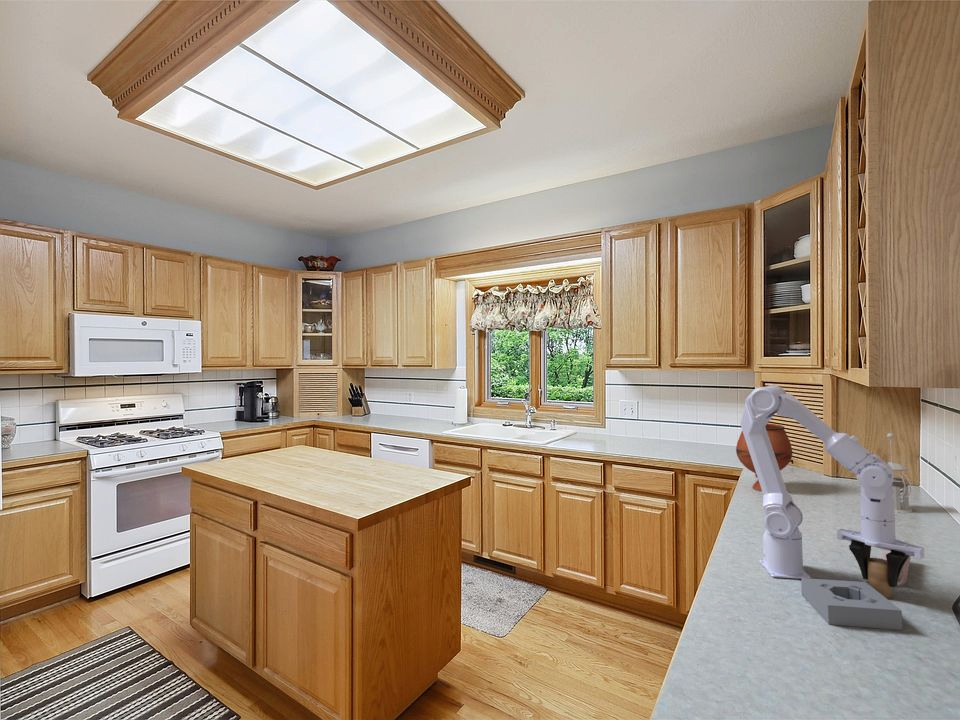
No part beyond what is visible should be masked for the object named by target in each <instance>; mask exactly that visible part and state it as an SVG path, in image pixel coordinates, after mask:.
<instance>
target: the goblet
mask: <svg viewBox="0 0 960 720" xmlns="http://www.w3.org/2000/svg"><path fill="white" fill-rule="evenodd" d="M765 428H766V430H767V433H768V436H769V439H770V442H771V445H772V448H773V451H774V454H775V457H776V460H777V463H778V466H779V469H780V471H782V470H783V469H785V468H786V467H787V466H788V465H789V464H790V462H791V460H792V458H793V448H792V443H791V441H790V438H789V437H788V434H787V432H786V429H785V426H784V425H780V424H777V423H769V422H768V423H767V424H766V426H765ZM735 451H736V452H735V453H736V456H737V458H738V460H739V462H740V463H741V464H742V465H743V466H744V467H745V468H747V469H748V471H751V472H752V473H754V474H755V475H754V476H755V477H756V478H757V480H756V481H755V483H753V485H752V487H751V488H752V490H753V489H754V490H756V491H758V492H759V491H760V492H762V489H761V486H760V483H759V480H758V477H757V474H756V471H755V468H754V465H753V462H752V459H751V455H750V452H749V449H748V446H747V443H746V440H745V437H744V434H743V431H742V430H741V432H740V435H739V437H738V440H737V443H736V448H735Z"/></svg>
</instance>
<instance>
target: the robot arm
mask: <svg viewBox="0 0 960 720" xmlns="http://www.w3.org/2000/svg"><path fill="white" fill-rule="evenodd" d="M744 401H745V402H744V403H745V405H744V408H743V412H742V415H741V419H740V427H741V432H742V431H743V434H744V437H745V440H746V443H747V446H748V449H749V452H750V455H751V459H752V462H753V465H754V468H755V471H756V473H755V475H756V474H757V477H758V478H757V477H756V478H757V480H759V483H760V486H761V489H762V491H761V492H762V495H763V498H762V499H763V500H762V507H763V511H764V517H763V525H764V527H765V531H764V532H763V535H762V551H763V552H762V553H763V554H762V555H763V556H762V557H763V559H759V560H758V561H759V563H760V564H761V566H763V567H764V569H765V570H766V571H767V572H768V574H770V575H771V577H773V578H783V579H784V578H785V579H801V578H808V579H812V577H811V576H810V574H808V573H807V572H806V571H805V570H804V562H803V561H804V560H803V559H804V558H803V557H804V556H803V553H804V552H803V533H801V531H800V528H799V526H800V525H802V522H803V520H804V516H803V513H802V511H801V509H800V508H799V507H798V506H797V505H796V503H795V502H794V499H793V496H792V495H791V494H790V493H789V491H788V490H787V488H786V485H785V482H784V478H783V476H782V473H781V472H782V471H781V470H780V469H779V466H778V463H777V460H776V457H775V454H774V451H773V448H772V445H771V442H770V439H769V436H768V433H767V430H766V428H765V426H766V424H767V423H769V422H770V421H771V419H772V417H773V416H775V414H776V415H777V416H781V417H786V418H791V419H793V420H795V422H798V424H800V425H801V426H803V427H804V428H805V429H807V430H808V431H809V432H810V433H812V434H813V435H814V436H815V437H817V438H818V439H819V440H820V441H822V442H823V443H824V451H825V452H826V453H827V454H828V455H830V456H831V457H832V458H834V459H835V460H836V461H837V462H838V463H839V465H842V466H843V467H844V468H845V469H846V470H848V471H849V472H850V473H852V474H854V475H856V480H857V482H858V484H859V485H860V493H859V510H860V511H859V513H860V531H857V530H849V529H846V528H845V529H844V528H839V529H836V537H837V538H836V539H837V540H841V541H843V540H845V541H850V544H849V545H848V549H849V550H850V551H851V553H852V556H854V558H855V561H856V563H857V564H858V566H859V570H860V572H861V576H862V579H863V580H867V581H868V573H867V558H871V550H872V547H873V548H878V549H882V550H885V551H886V550H889V551H891V552H889V553H888V554H886V558H887V563H888V569H889V587H892V589H893V588H895V587H898V586H897V583H898V578H899V575H900V572H901V570H902V567H903V565H904V564H905V562H906V560H907V559H908V558H909V556H911V557H913V558H914V559H917V560H922V559H924V558H925V548H924V547H923V546H918V545H914V544H913V543H908V542H906V541H903V540H900V539H897V538H896V516H895V515H896V513H895V509H894V498H893V496H892V495H893V489H892V483H893V478H895V473H894V472H895V471H893V469H892V468H891V466H890V465H889V464H888V463H887V461H886V460H884V459H881V458H880V456H879V455H878V454H877V453H874V454H873V453H872V452H870V450H868V449H867V448H866V447H864V446H863V445H862V444H860V443H859V440H860V439H859V438H858V437H856V436H855V435H852V436H850V435H849V434H848V433H845V432H836V431H835V430H834V429H832V427H830V426H829V425H828V424H827V423H825V421H823V420H822V419H821V417H818V415H816V414H815V413H814V412H813V411H811V409H809V408H808V407H807V406H806V405H805V404H804V403H803V402H801V401H800V400H799V399H798V398H796V397H795V396H794V395H792V394H791V393H790V392H786V390H785V389H784V388H782V387H781V386H778V385H775V384H774V385H767V386H760V387H757V388H754V390H752V391H751V393H749V395H748V396H747V397H746V398H745V399H744Z"/></svg>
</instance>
